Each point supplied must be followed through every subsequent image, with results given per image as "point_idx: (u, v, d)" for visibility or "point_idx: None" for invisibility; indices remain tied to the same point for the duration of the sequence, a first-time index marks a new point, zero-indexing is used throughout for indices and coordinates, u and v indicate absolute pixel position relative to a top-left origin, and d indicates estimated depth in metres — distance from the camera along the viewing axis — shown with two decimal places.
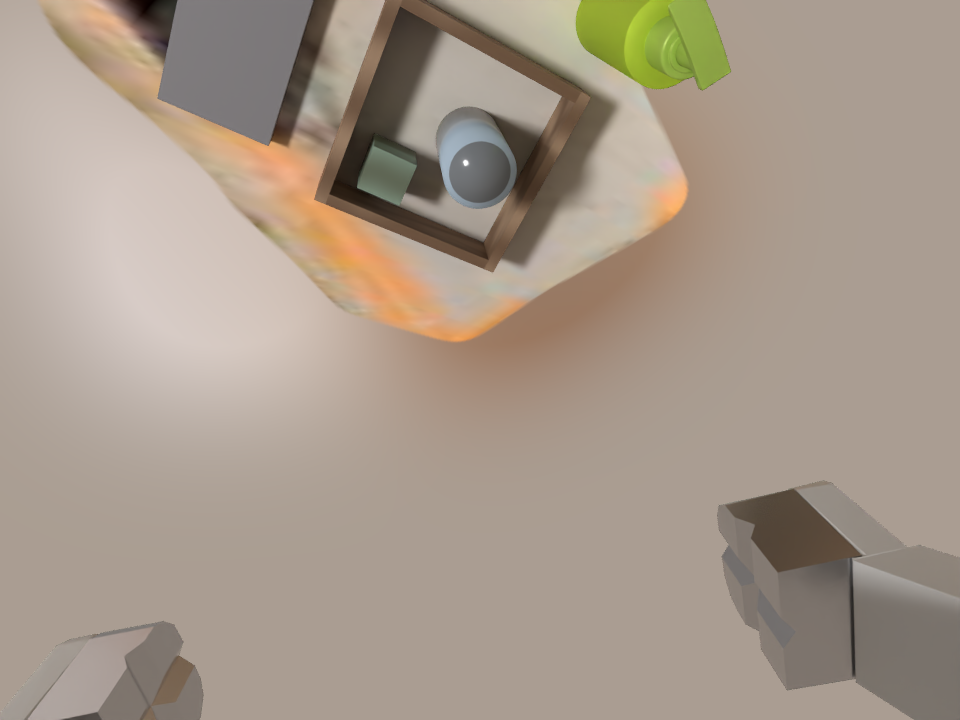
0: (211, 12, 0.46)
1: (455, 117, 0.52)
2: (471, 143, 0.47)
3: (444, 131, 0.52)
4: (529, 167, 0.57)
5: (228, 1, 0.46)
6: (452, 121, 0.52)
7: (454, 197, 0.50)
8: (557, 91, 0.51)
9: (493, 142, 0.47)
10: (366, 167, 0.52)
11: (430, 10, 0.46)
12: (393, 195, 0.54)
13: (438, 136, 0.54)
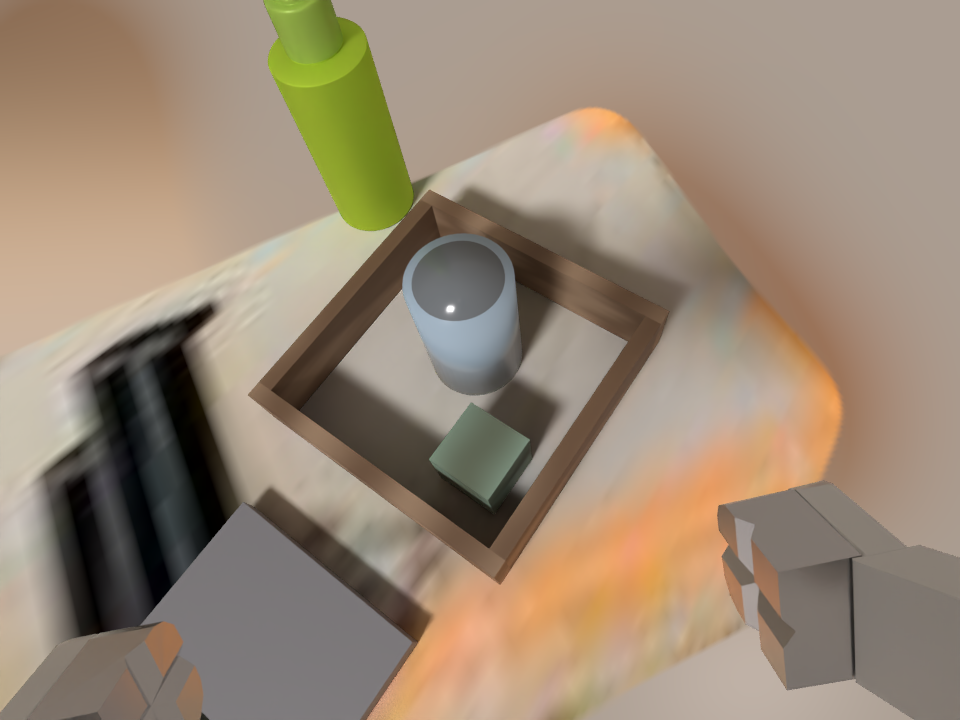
0: (221, 656, 0.32)
1: None
2: (412, 287, 0.32)
3: (435, 361, 0.36)
4: (519, 273, 0.41)
5: (217, 626, 0.33)
6: (427, 352, 0.37)
7: (488, 317, 0.31)
8: (413, 224, 0.40)
9: (418, 260, 0.33)
10: (458, 477, 0.33)
11: (285, 356, 0.37)
12: (511, 445, 0.33)
13: (451, 380, 0.37)
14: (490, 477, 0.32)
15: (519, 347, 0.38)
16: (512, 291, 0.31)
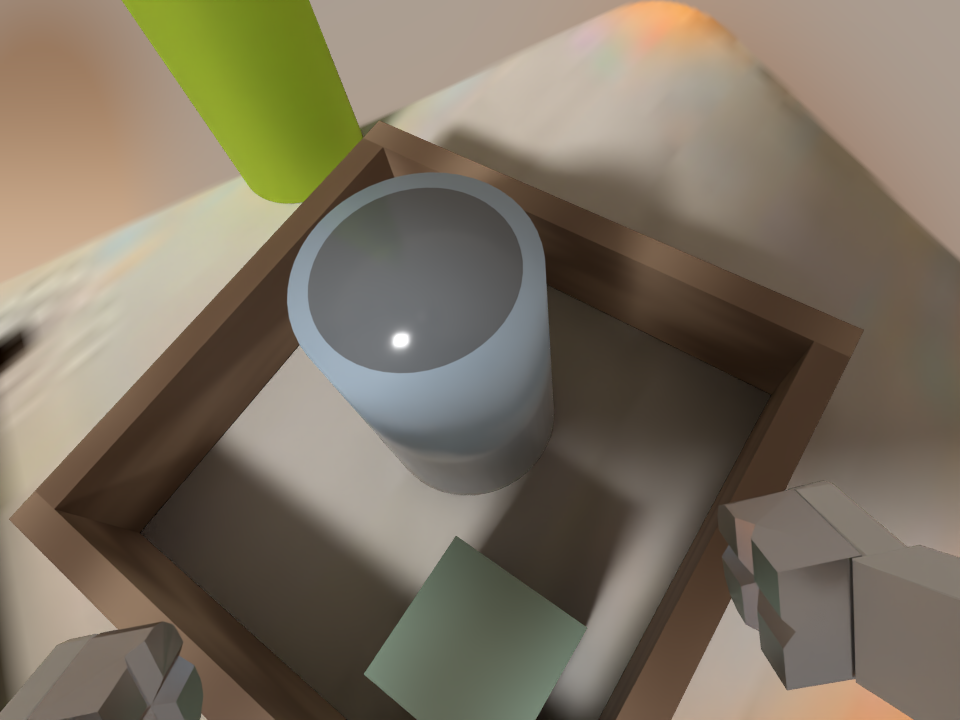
0: None
1: None
2: (309, 294, 0.14)
3: (384, 442, 0.18)
4: None
5: None
6: None
7: (486, 362, 0.13)
8: (349, 180, 0.22)
9: (327, 232, 0.15)
10: None
11: (92, 436, 0.19)
12: (545, 641, 0.15)
13: (419, 473, 0.19)
14: None
15: (550, 405, 0.19)
16: (541, 297, 0.13)
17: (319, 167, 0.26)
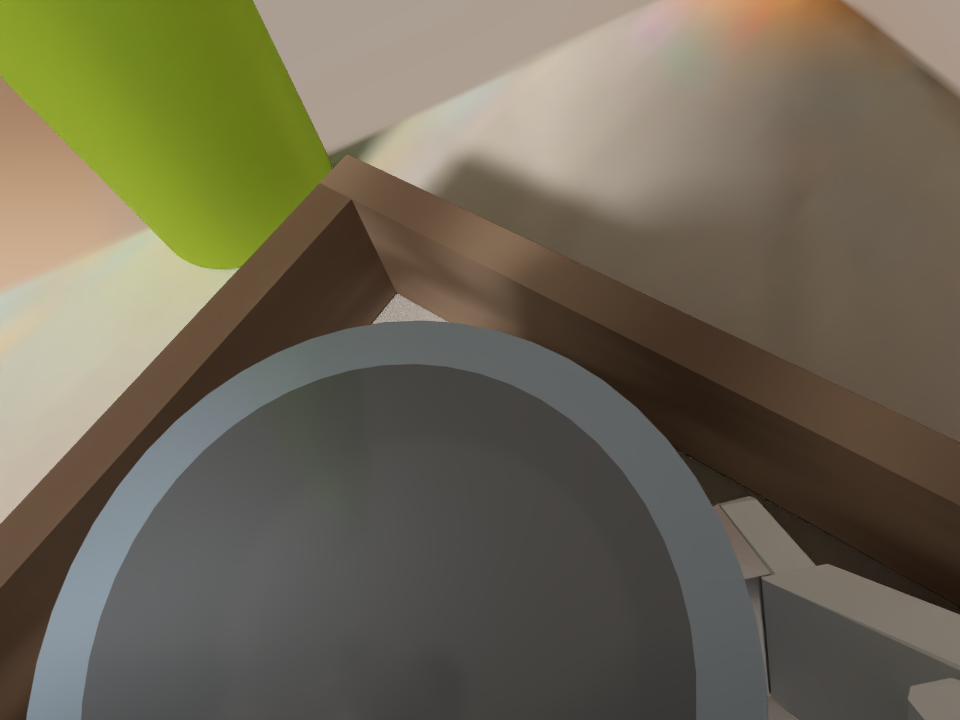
0: None
1: None
2: (89, 689, 0.05)
3: None
4: None
5: None
6: None
7: None
8: (293, 256, 0.13)
9: (164, 484, 0.06)
10: None
11: None
12: None
13: None
14: None
15: None
16: None
17: (261, 219, 0.17)
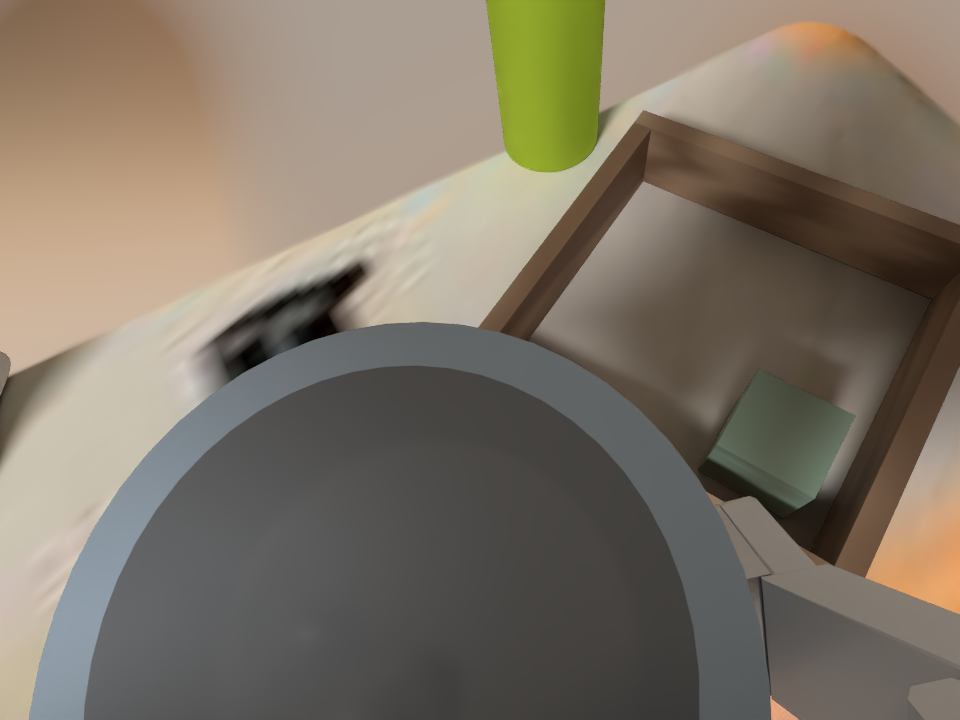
0: None
1: None
2: (92, 691, 0.05)
3: None
4: (763, 212, 0.32)
5: None
6: None
7: None
8: (631, 151, 0.32)
9: (167, 485, 0.06)
10: (764, 468, 0.24)
11: (492, 316, 0.28)
12: (830, 424, 0.24)
13: None
14: (810, 467, 0.24)
15: None
16: None
17: (579, 144, 0.36)
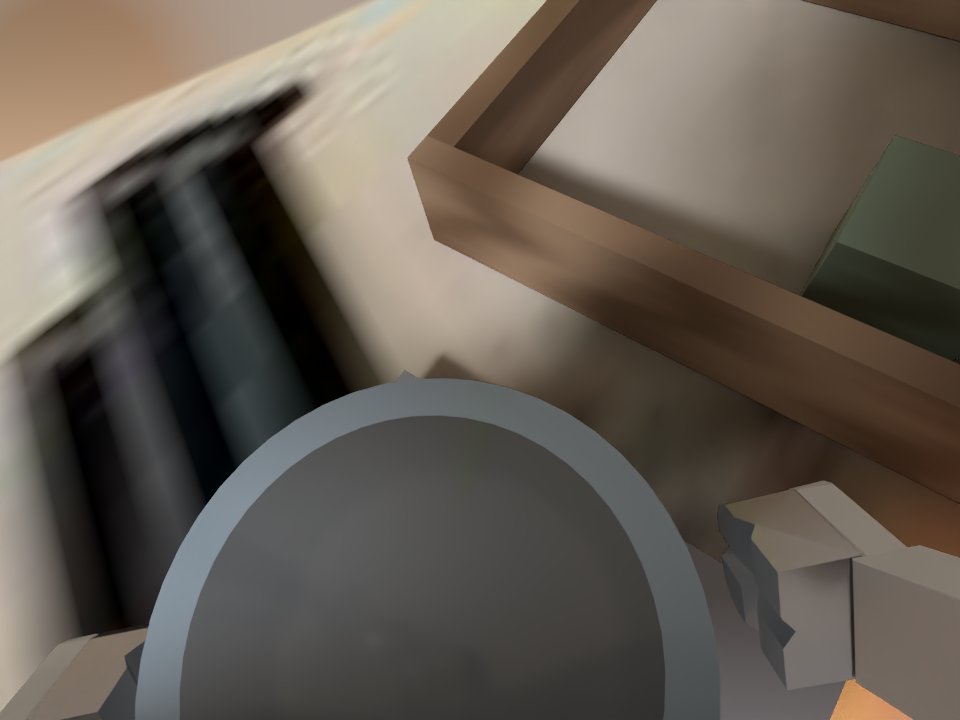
0: None
1: None
2: (184, 681, 0.06)
3: None
4: None
5: None
6: None
7: None
8: None
9: (236, 514, 0.07)
10: (922, 271, 0.14)
11: (472, 92, 0.19)
12: None
13: None
14: None
15: None
16: None
17: None
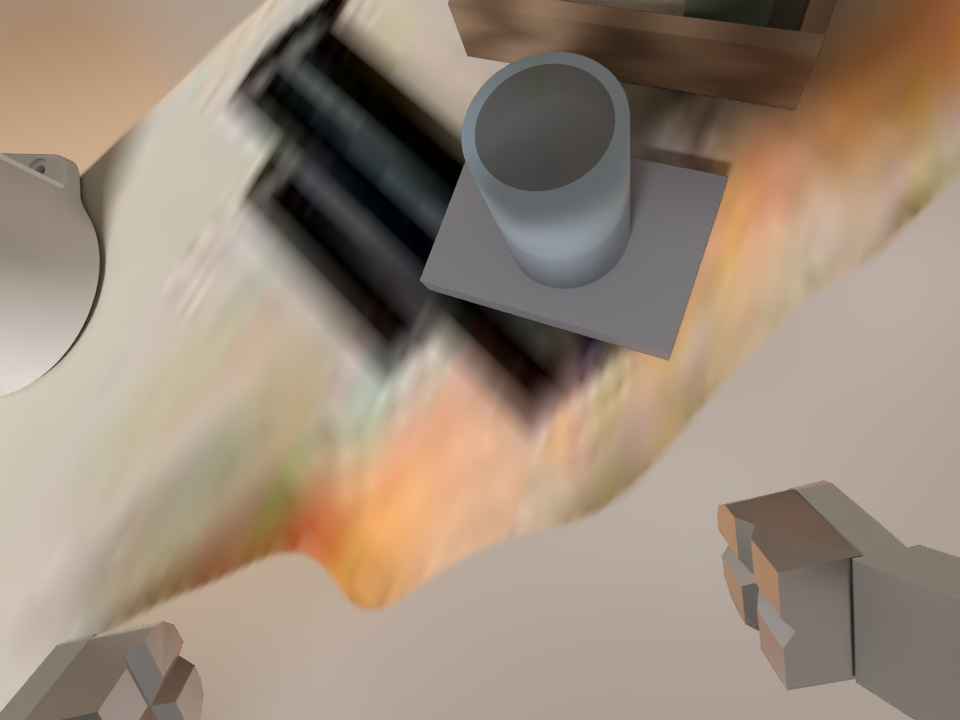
0: None
1: (508, 247, 0.28)
2: (480, 157, 0.22)
3: (526, 256, 0.27)
4: None
5: None
6: (510, 247, 0.27)
7: (607, 167, 0.21)
8: None
9: (476, 115, 0.22)
10: None
11: None
12: None
13: (550, 274, 0.28)
14: None
15: None
16: (629, 119, 0.21)
17: None
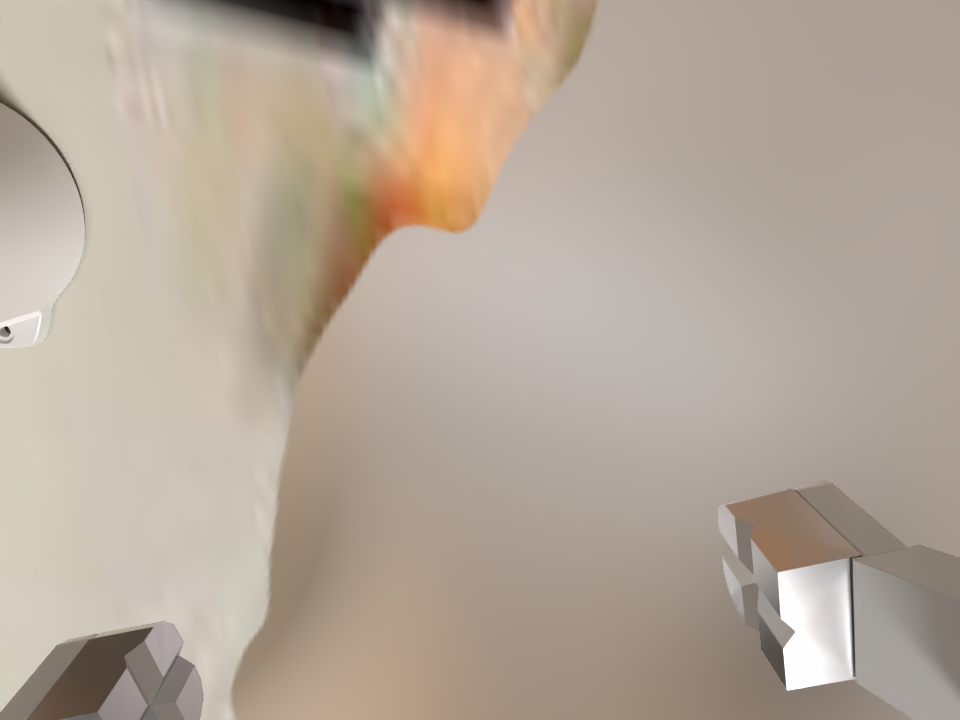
0: None
1: None
2: None
3: None
4: None
5: None
6: None
7: None
8: None
9: None
10: None
11: None
12: None
13: None
14: None
15: None
16: None
17: None
